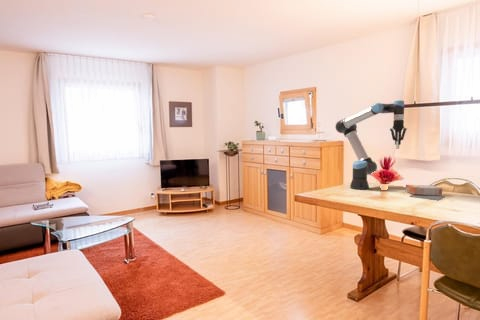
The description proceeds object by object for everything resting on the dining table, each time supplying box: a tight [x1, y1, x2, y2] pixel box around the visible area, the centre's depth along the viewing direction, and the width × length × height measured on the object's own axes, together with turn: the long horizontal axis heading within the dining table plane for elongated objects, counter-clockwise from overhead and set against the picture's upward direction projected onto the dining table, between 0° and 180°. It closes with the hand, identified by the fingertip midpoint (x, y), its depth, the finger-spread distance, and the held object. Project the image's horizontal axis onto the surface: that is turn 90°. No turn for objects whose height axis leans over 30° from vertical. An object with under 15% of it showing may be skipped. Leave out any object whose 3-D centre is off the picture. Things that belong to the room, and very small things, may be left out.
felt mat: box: [408, 194, 445, 201], centre depth 235 cm, size 19×16×1 cm
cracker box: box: [405, 184, 443, 196], centre depth 245 cm, size 14×6×21 cm
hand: (397, 148), depth 259 cm, fingers closed
